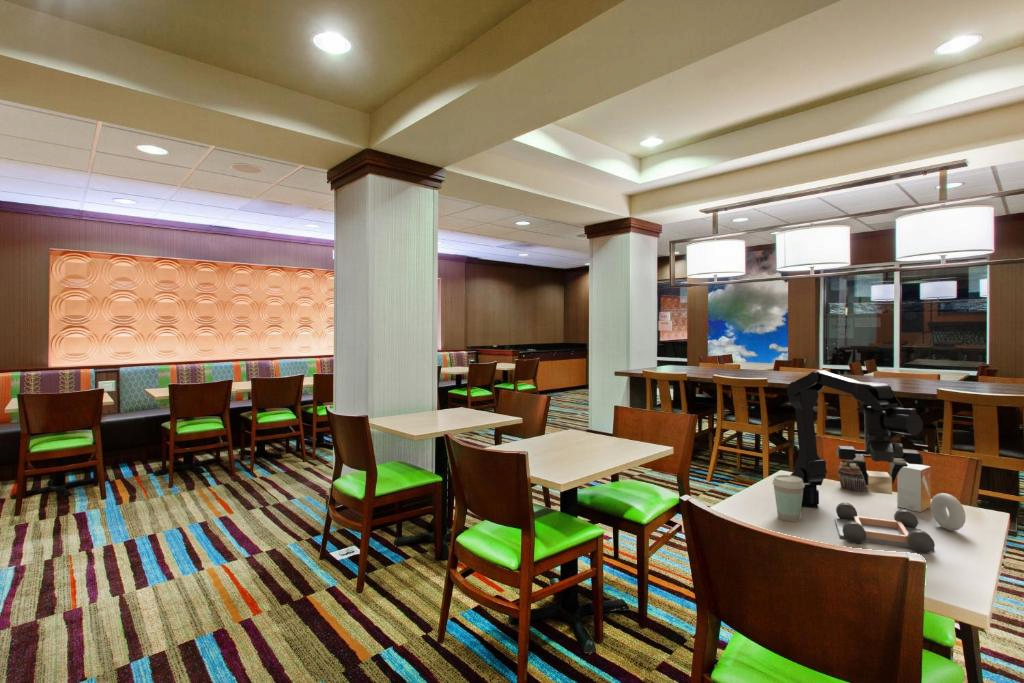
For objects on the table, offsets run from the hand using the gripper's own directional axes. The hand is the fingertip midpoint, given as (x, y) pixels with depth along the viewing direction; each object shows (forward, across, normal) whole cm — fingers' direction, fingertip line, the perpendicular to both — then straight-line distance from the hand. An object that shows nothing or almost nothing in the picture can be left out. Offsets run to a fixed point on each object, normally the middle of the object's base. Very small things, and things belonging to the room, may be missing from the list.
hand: (878, 486), depth 140 cm
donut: (+13, +17, +10) cm, 24 cm away
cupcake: (+13, 0, +44) cm, 45 cm away
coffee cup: (+13, -22, +3) cm, 26 cm away
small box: (+13, +13, +28) cm, 34 cm away
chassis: (+13, 0, -2) cm, 13 cm away
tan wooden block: (+1, 0, 0) cm, 1 cm away
